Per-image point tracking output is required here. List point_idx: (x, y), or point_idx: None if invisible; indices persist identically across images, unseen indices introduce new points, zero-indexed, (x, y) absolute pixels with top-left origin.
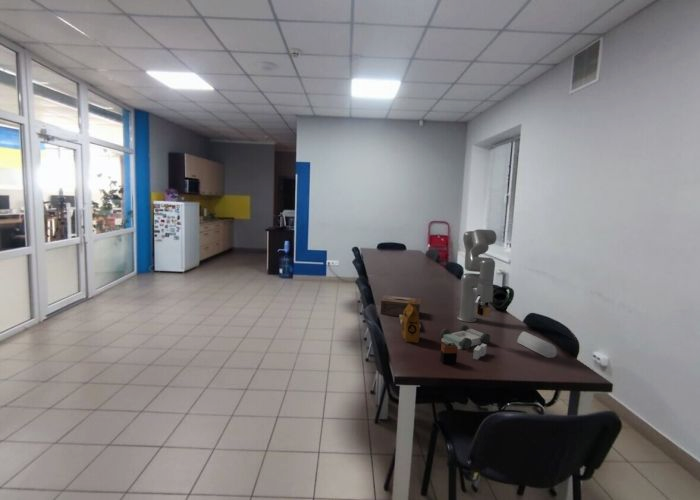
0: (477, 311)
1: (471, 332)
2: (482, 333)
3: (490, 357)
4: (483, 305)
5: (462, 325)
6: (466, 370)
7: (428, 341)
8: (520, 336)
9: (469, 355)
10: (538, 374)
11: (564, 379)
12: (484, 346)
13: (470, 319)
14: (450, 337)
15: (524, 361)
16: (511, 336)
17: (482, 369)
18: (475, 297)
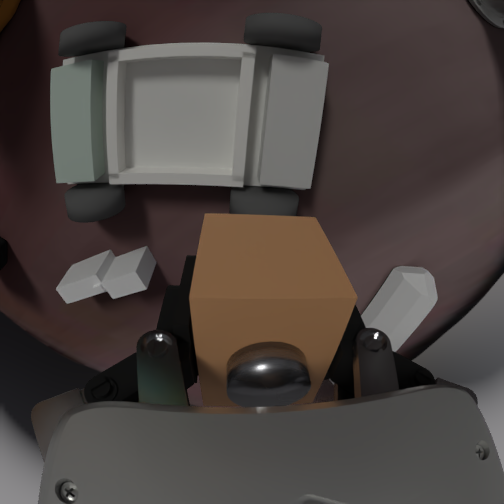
0: (183, 274)
1: (267, 100)
2: (307, 162)
3: (142, 291)
4: (232, 400)
5: (276, 18)
6: (18, 298)
7: (24, 50)
8: (410, 291)
9: (76, 242)
10: (187, 390)
11: None
12: (118, 296)
13: (486, 5)
14: (55, 116)
15: None
16: (450, 214)
17: (59, 318)
18: (42, 484)
